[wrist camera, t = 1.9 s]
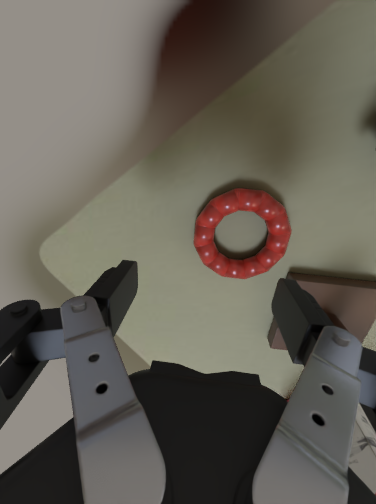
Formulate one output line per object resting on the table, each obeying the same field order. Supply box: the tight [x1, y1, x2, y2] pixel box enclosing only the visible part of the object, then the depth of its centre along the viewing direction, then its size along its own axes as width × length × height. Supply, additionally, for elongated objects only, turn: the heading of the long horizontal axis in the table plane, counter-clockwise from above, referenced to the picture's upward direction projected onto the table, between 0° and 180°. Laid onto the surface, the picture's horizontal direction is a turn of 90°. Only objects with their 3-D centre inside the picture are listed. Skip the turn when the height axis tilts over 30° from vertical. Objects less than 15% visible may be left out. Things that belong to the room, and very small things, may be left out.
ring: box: [194, 188, 291, 279], centre depth 19 cm, size 8×8×2 cm
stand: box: [268, 272, 376, 350], centre depth 18 cm, size 9×9×12 cm
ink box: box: [287, 400, 376, 495], centre depth 24 cm, size 9×5×12 cm, turn 142°
